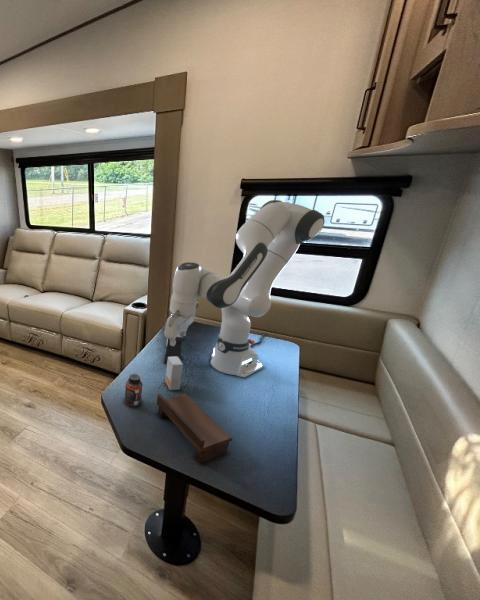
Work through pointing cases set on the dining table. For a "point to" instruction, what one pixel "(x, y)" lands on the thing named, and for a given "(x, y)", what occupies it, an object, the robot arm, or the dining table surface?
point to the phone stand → (173, 349)
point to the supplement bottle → (133, 390)
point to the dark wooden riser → (195, 426)
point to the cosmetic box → (173, 373)
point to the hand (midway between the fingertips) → (177, 340)
